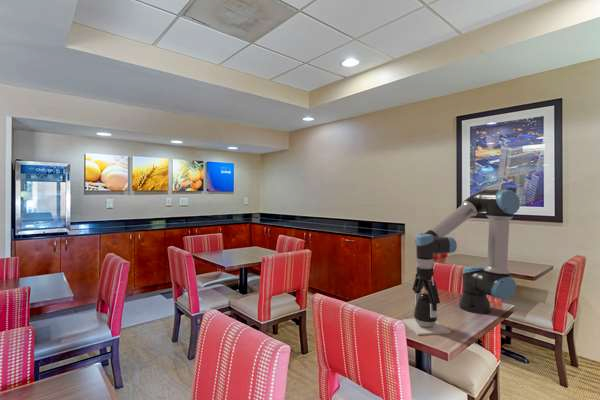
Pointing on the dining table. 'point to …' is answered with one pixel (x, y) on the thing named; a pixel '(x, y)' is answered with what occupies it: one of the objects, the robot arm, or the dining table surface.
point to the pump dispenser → (424, 311)
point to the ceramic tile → (425, 328)
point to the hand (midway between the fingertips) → (425, 311)
